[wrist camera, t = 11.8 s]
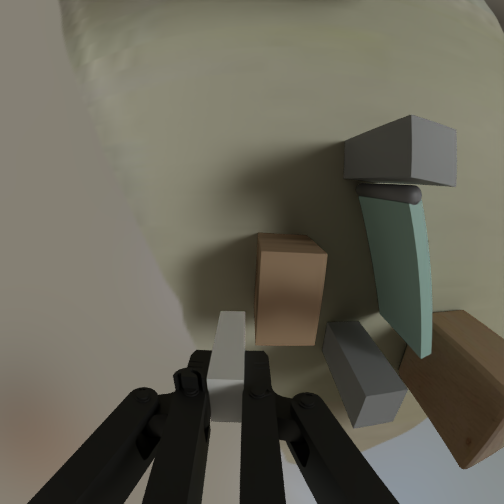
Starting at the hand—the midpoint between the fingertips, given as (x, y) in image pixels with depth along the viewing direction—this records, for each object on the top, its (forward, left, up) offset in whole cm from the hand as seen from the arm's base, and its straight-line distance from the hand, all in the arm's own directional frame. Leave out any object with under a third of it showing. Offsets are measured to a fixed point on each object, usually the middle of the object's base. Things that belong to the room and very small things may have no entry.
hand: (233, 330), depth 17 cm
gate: (-3, +15, -12) cm, 19 cm away
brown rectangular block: (0, +4, -13) cm, 13 cm away
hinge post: (-12, +12, -13) cm, 21 cm away
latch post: (+8, +12, -13) cm, 19 cm away
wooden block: (+10, +27, -13) cm, 32 cm away
